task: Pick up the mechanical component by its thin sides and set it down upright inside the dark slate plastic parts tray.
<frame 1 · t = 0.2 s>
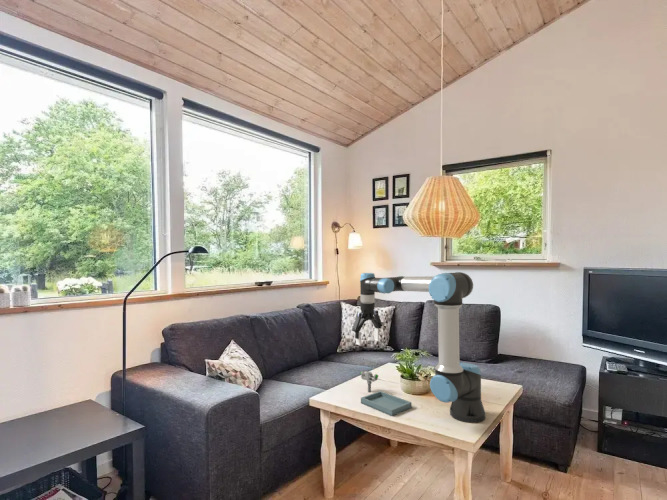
hand: (367, 342, 202), 26 cm above the table, tool pointing down, fingers open, 13 cm apart
parts tray: (385, 405, 185), on the table
mechanical component: (369, 392, 203), on the table
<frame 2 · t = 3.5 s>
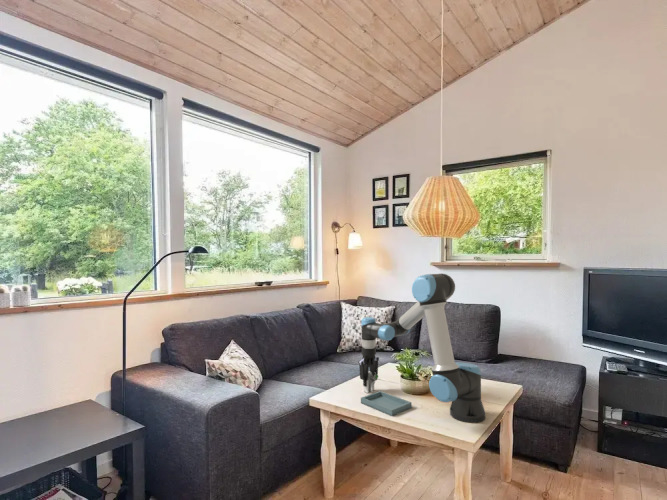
hand: (369, 391, 203), 0 cm above the table, tool pointing down, fingers closed on mechanical component, 3 cm apart
mechanical component: (369, 392, 203), on the table, touching gripper
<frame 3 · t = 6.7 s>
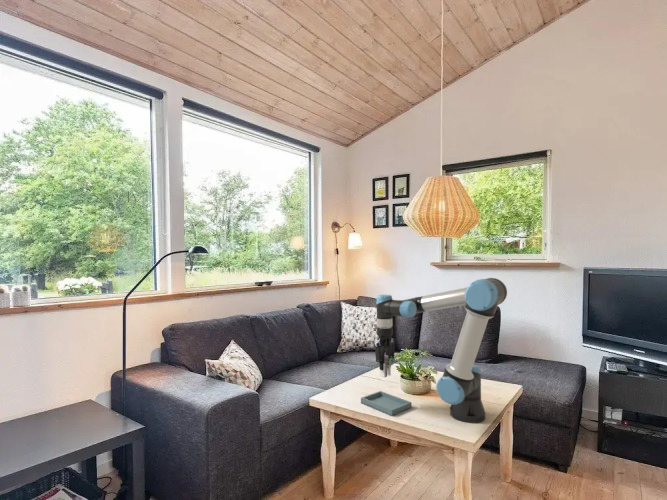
hand: (385, 375, 185), 14 cm above the table, tool pointing down, fingers closed on mechanical component, 3 cm apart
mechanical component: (385, 377, 185), point 14 cm above the table, touching gripper
when the fingers open (2 cm above the table, at t = 9.6 s): mechanical component drops 1 cm, resting on parts tray.
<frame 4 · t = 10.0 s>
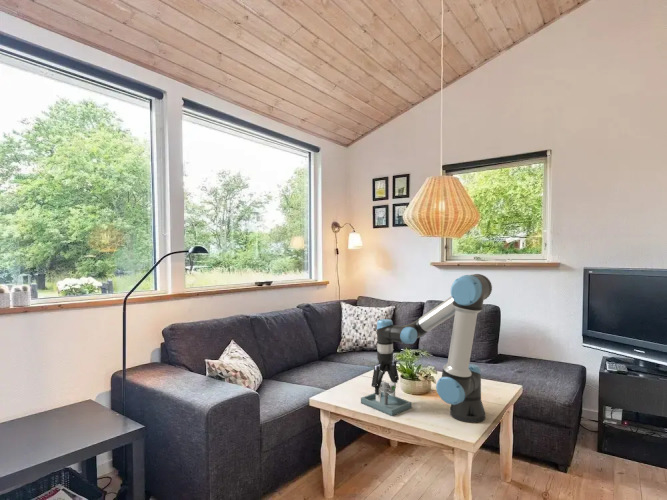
hand: (385, 398, 185), 3 cm above the table, tool pointing down, fingers open, 9 cm apart
mechanical component: (385, 404, 185), resting on parts tray
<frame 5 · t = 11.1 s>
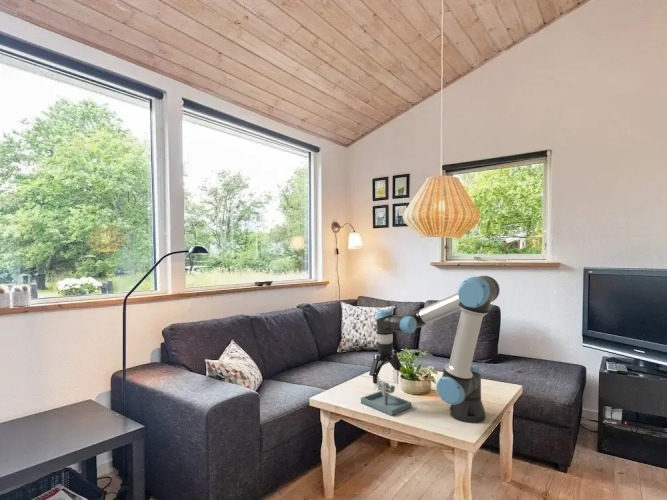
hand: (386, 386, 185), 9 cm above the table, tool pointing down, fingers open, 13 cm apart
nothing on the table moved.
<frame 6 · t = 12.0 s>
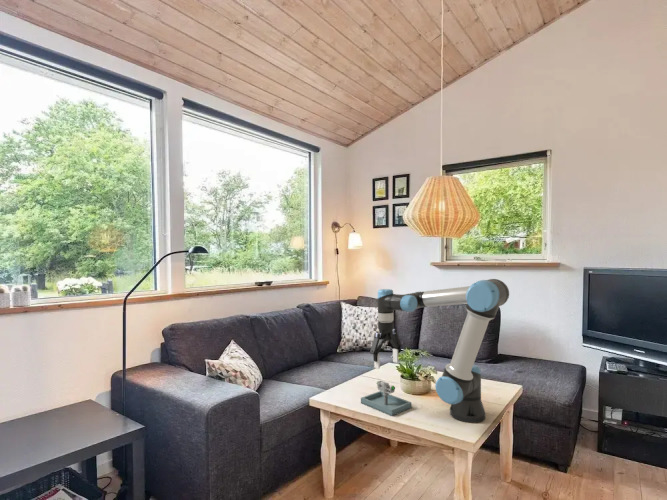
hand: (386, 365, 186), 19 cm above the table, tool pointing down, fingers open, 13 cm apart
nothing on the table moved.
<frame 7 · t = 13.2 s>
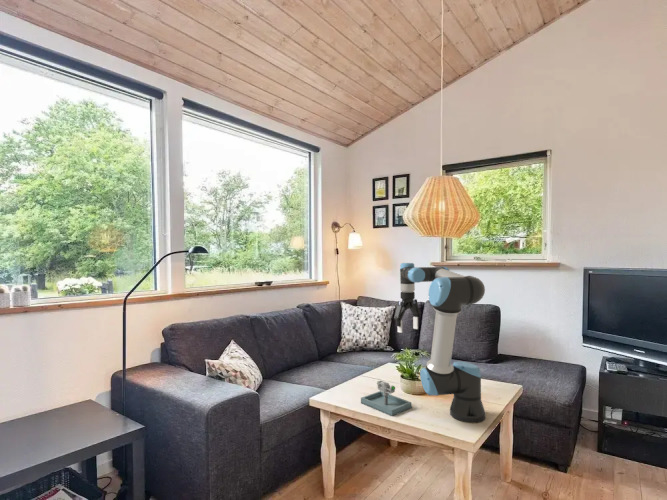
hand: (407, 330, 208), 31 cm above the table, tool pointing down, fingers open, 13 cm apart
nothing on the table moved.
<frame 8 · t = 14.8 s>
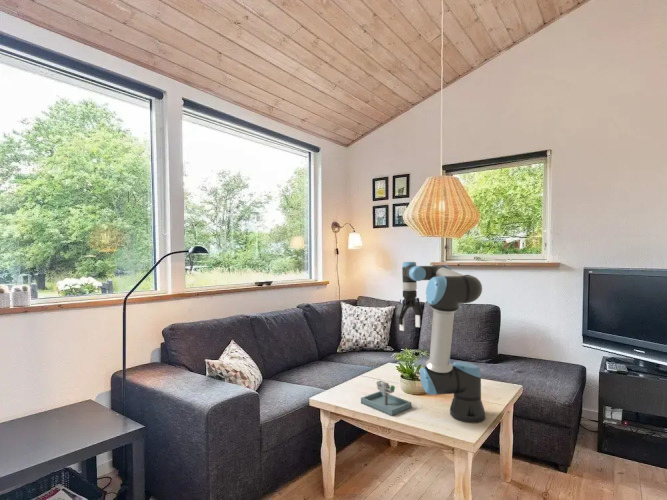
hand: (410, 328, 210), 32 cm above the table, tool pointing down, fingers open, 13 cm apart
nothing on the table moved.
at the end: mechanical component inside the target area on the parts tray (0.1 cm from its centre), point 0.4 cm above the parts tray's base; mechanical component tilted 1°; the gripper is holding nothing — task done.
